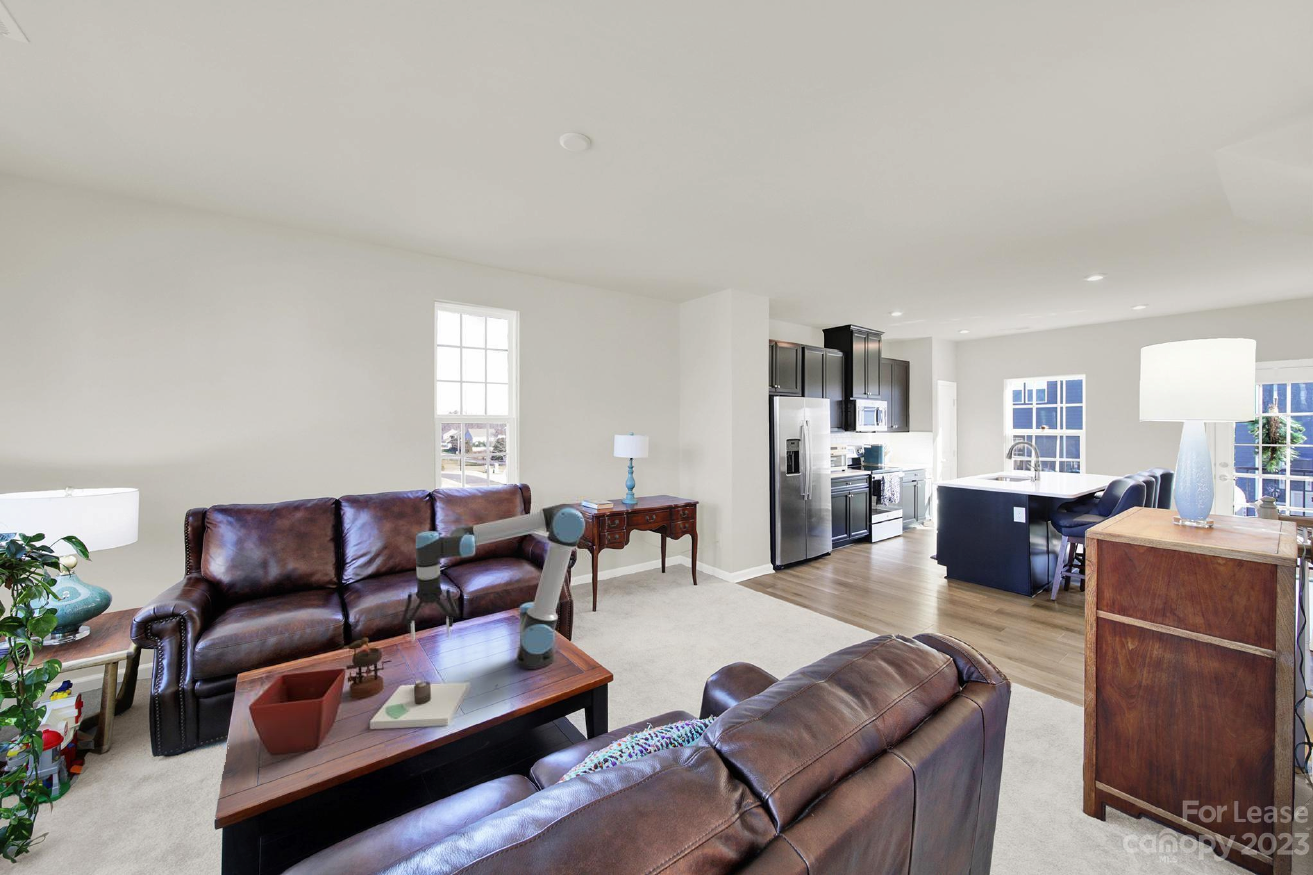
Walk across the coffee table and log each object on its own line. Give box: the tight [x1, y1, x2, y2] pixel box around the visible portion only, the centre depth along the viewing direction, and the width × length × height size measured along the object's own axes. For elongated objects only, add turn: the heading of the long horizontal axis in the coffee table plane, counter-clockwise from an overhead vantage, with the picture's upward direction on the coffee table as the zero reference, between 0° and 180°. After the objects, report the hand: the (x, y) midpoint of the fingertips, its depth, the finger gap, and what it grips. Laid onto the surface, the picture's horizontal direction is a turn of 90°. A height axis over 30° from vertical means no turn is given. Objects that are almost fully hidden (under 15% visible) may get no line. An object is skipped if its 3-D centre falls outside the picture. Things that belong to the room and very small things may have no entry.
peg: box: [414, 678, 431, 704], centre depth 178 cm, size 14×5×5 cm, turn 33°
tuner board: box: [369, 682, 470, 730], centre depth 175 cm, size 24×22×3 cm
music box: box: [342, 637, 392, 700], centre depth 186 cm, size 15×11×20 cm
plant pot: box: [248, 667, 347, 756], centre depth 158 cm, size 19×19×17 cm
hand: (431, 638), depth 183 cm, fingers open, 11 cm apart
